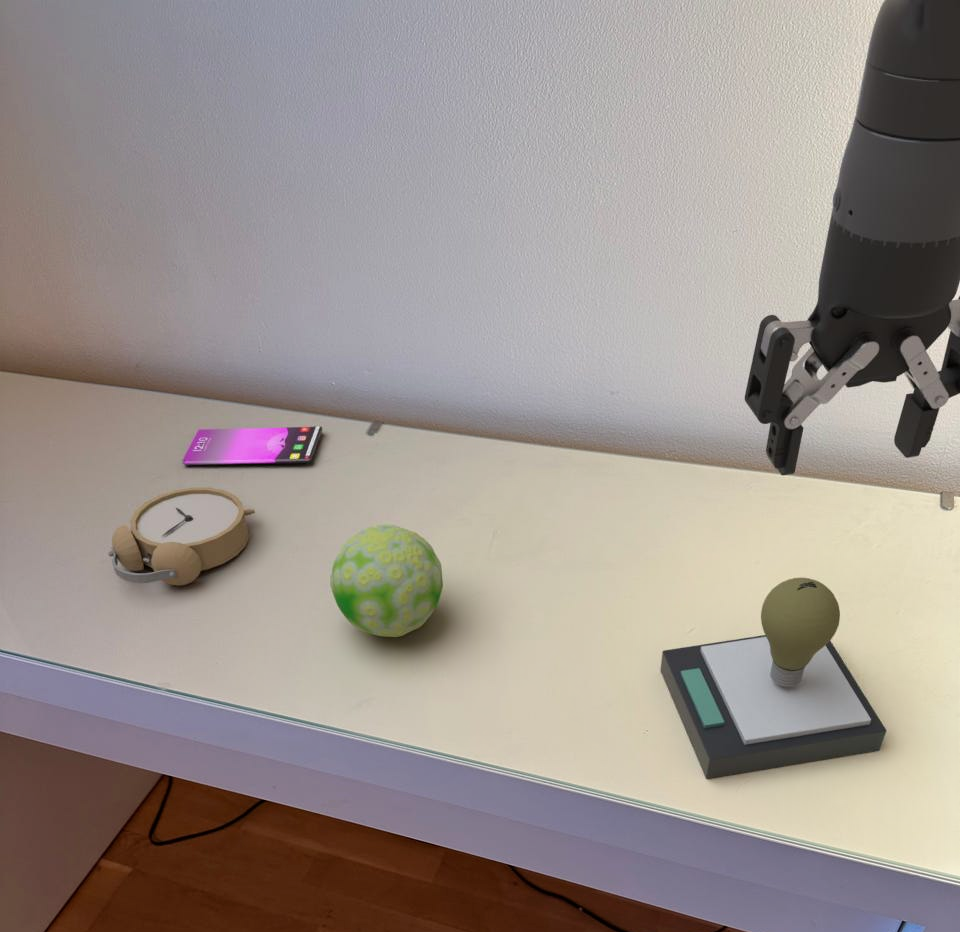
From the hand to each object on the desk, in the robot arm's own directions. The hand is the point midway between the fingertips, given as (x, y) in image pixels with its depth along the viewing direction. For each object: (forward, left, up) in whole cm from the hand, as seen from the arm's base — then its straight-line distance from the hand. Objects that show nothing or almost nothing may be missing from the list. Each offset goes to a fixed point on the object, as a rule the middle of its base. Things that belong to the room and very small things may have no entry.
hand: (844, 459), depth 64 cm
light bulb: (+1, +1, -20) cm, 20 cm away
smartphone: (+44, -49, -23) cm, 70 cm away
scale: (+2, +1, -23) cm, 23 cm away
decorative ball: (+31, -16, -23) cm, 42 cm away
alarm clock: (+51, -31, -23) cm, 64 cm away
